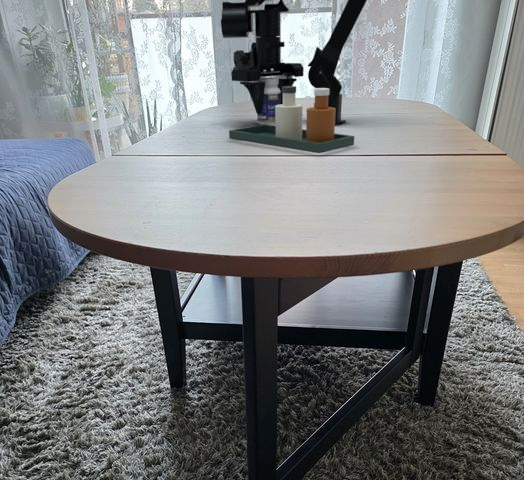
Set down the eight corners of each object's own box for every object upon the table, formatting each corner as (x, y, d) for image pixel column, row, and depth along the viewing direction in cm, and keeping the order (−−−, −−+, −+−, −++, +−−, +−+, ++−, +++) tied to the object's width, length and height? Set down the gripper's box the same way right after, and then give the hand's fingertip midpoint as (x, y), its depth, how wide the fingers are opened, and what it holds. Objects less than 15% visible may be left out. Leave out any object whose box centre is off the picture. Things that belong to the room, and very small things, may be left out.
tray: (264, 134, 111) (264, 124, 110) (353, 147, 96) (354, 136, 95) (229, 141, 105) (228, 130, 104) (318, 156, 90) (319, 143, 89)
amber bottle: (318, 142, 98) (320, 86, 93) (339, 145, 95) (342, 88, 90) (300, 146, 95) (301, 89, 90) (321, 149, 92) (323, 90, 87)
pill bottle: (271, 126, 121) (271, 79, 116) (252, 124, 124) (251, 78, 119) (285, 122, 125) (285, 77, 119) (266, 121, 128) (266, 76, 122)
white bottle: (288, 137, 103) (288, 85, 98) (307, 140, 100) (308, 86, 95) (270, 141, 100) (269, 87, 95) (289, 144, 97) (289, 88, 92)
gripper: (271, 36, 125) (272, 106, 133) (213, 38, 114) (218, 114, 122) (305, 36, 118) (304, 109, 126) (247, 37, 107) (249, 118, 116)
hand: (269, 112), depth 123 cm, fingers closed on pill bottle, 7 cm apart
